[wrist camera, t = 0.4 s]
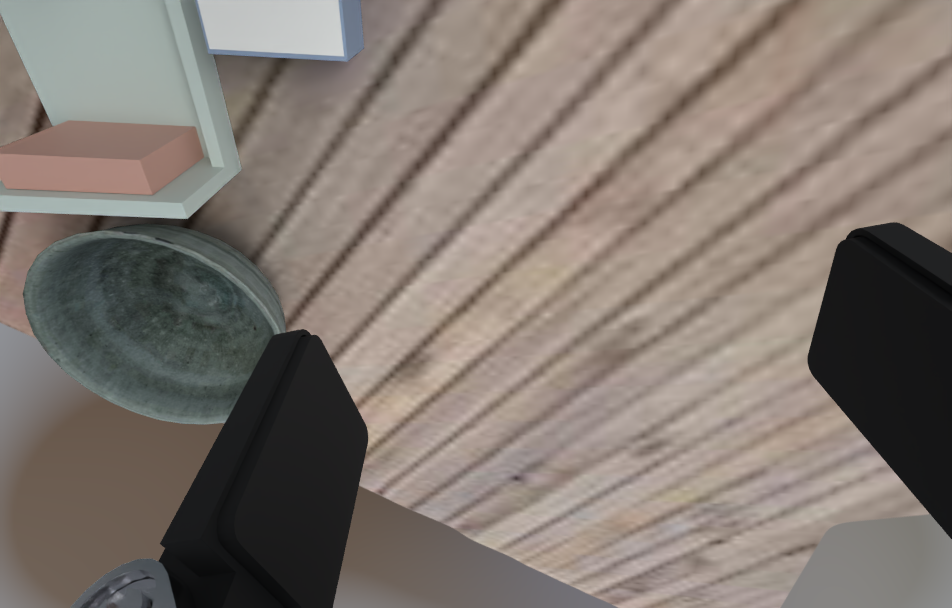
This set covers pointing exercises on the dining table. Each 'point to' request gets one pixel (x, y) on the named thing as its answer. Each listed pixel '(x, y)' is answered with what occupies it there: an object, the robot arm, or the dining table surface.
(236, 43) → the book
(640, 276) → the dining table surface
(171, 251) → the bowl
